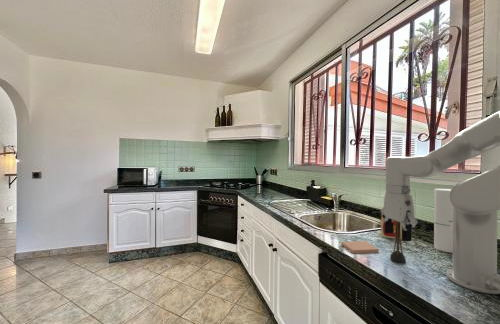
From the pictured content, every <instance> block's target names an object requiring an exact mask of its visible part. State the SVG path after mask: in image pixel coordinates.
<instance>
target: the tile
mask: <svg viewBox="0 0 500 324" xmlns="http://www.w3.org/2000/svg"><path fill="white" fill-rule="evenodd" d="M342 245H343V246H344V248H345V249H346V248H347V249H348V250H347V249H346V250H347V251H349V250H350V251H351V252H352V253H351V252H350V251H349V252H350V253H351V254H353V253H354V254H373V253H374V254H376V253H377V254H378V253H379V248H377V247H376V246H374V245H372V244H370V243H369V242H368V241H366V240H360V241H357V240H356V241H341V246H342ZM343 246H342V247H343Z"/></svg>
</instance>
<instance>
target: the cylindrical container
mask: <svg viewBox="0 0 500 324" xmlns="http://www.w3.org/2000/svg"><path fill="white" fill-rule="evenodd" d="M433 189H434V191H433V192H434V193H433V194H434V196H433V198H434V201H433V203H434V204H433V206H434V207H433V209H434V212H433V213H434V215H433V216H434V217H433V220H434V221H433V222H434V224H433V227H434V228H433V239H434V241H433V247H434V249H436V250H438V251H441V252H445V253H451V254H453V205H452V203H451V201H450V197H449V195H450V191H451V189H452V188H433Z"/></svg>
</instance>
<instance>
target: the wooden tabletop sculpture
mask: <svg viewBox="0 0 500 324" xmlns="http://www.w3.org/2000/svg"><path fill="white" fill-rule="evenodd" d="M396 237H397V239H396ZM399 238H400V239H399ZM389 258H390V261H391V262H393V263H396V264H400V265H401V264H402V265H403V264H406V262H407V260H406V257H405V255H404V252H403V248H402V239H401V234H400V222H398V221H396V233H395V238H394V247H393V251H392V252H391V254H390V257H389Z"/></svg>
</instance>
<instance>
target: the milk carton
mask: <svg viewBox="0 0 500 324" xmlns="http://www.w3.org/2000/svg"><path fill="white" fill-rule="evenodd" d="M383 208H384V206H383ZM383 208H382V209H383ZM380 217H381V218H380V235H381V237H382V238H387V239H388V238H389V239H395V233H396V221H395V220H393V221H392V222H391V223H393V233H385V222H384V219H383V217H382V215H381V216H380ZM402 230H403V227H402V225H401V222H400V234H401V240H402ZM396 240H397V237H396ZM399 240H400V238H399Z"/></svg>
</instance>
